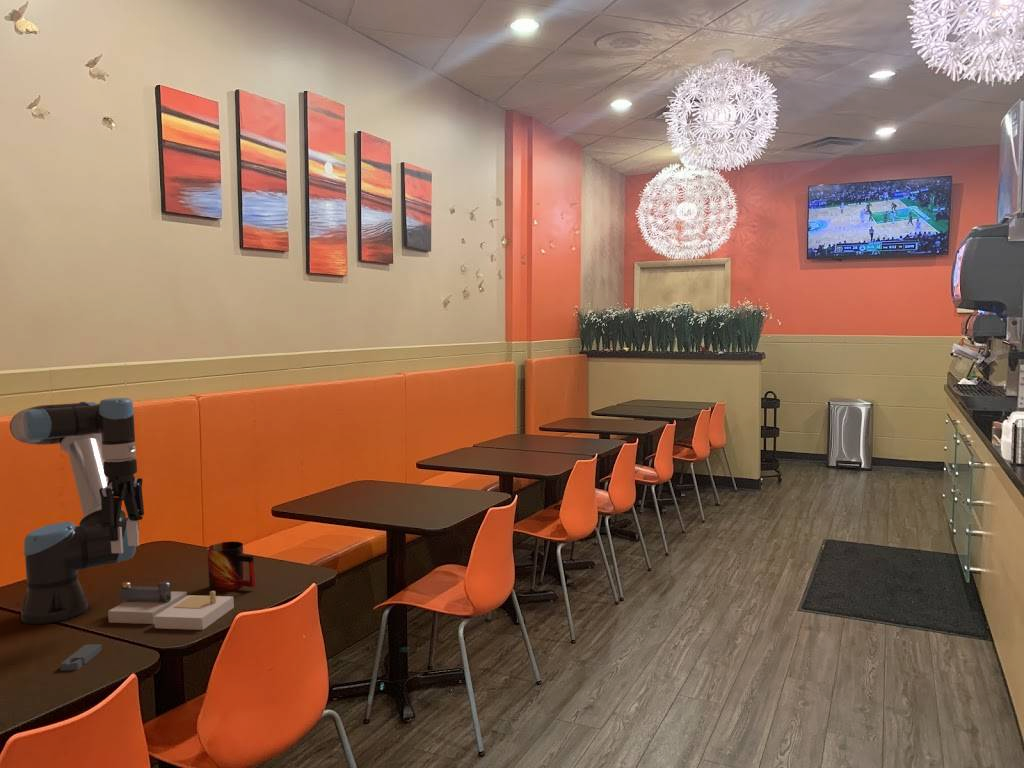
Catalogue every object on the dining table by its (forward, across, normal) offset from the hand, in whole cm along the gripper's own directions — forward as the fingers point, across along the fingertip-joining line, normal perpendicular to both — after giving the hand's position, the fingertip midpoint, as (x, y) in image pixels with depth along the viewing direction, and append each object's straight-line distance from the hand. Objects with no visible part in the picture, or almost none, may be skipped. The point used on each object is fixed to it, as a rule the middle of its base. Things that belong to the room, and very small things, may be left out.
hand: (125, 548), depth 193 cm
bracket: (+20, -23, -4) cm, 30 cm away
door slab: (+19, +4, -16) cm, 25 cm away
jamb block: (+19, +6, -1) cm, 20 cm away
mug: (+19, +27, -14) cm, 36 cm away
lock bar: (+15, +6, -1) cm, 17 cm away
